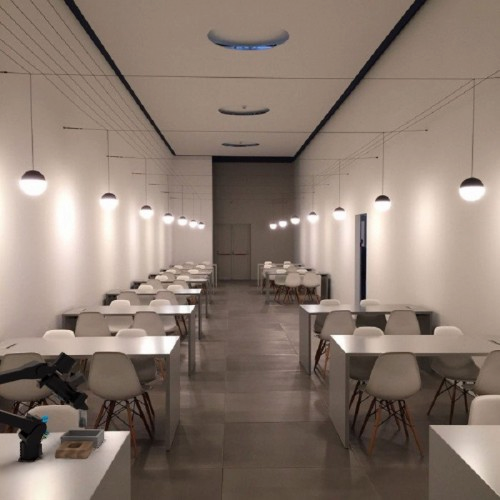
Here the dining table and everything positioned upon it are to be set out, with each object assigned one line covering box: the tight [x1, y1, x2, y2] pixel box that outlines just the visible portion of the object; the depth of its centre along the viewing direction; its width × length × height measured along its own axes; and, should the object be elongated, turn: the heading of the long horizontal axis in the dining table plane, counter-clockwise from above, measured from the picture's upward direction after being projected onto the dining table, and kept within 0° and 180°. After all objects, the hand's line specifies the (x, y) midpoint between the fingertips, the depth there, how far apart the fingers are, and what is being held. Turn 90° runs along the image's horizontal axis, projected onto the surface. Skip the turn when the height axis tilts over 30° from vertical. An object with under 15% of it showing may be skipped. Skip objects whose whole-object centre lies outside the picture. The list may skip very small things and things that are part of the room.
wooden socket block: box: [54, 441, 95, 459], centre depth 188 cm, size 11×8×3 cm
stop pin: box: [77, 398, 88, 429], centre depth 197 cm, size 3×3×11 cm
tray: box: [59, 428, 105, 449], centre depth 197 cm, size 14×8×4 cm, turn 88°
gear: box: [40, 414, 50, 438], centre depth 206 cm, size 11×6×10 cm
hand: (85, 408), depth 198 cm, fingers closed on stop pin, 3 cm apart
